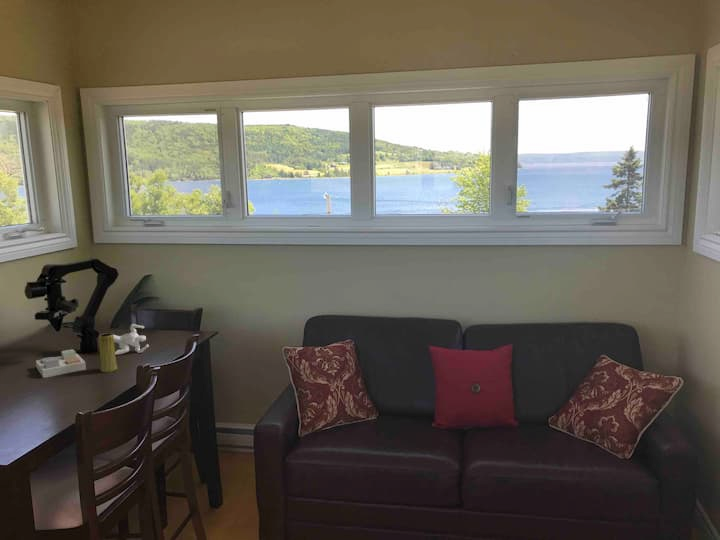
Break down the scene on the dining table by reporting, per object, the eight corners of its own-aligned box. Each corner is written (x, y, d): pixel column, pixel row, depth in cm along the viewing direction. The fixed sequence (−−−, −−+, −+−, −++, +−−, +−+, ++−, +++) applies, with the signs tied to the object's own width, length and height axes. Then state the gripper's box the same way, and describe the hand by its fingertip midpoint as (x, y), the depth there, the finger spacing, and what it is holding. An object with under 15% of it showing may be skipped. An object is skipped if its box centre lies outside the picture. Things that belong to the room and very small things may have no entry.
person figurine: (98, 334, 235) (142, 321, 242) (98, 333, 247) (141, 321, 254) (107, 363, 235) (151, 350, 243) (107, 361, 247) (149, 348, 254)
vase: (99, 373, 219) (96, 337, 216) (102, 368, 224) (98, 333, 222) (116, 371, 220) (113, 336, 218) (118, 366, 226) (115, 332, 224)
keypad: (77, 360, 235) (76, 353, 234) (86, 369, 223) (85, 362, 223) (36, 367, 226) (35, 360, 225) (43, 377, 214) (42, 370, 214)
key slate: (53, 363, 228) (53, 356, 227) (55, 366, 224) (55, 359, 224) (41, 365, 225) (40, 358, 225) (43, 368, 222) (42, 361, 221)
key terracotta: (78, 363, 227) (77, 357, 226) (80, 366, 223) (79, 359, 223) (66, 366, 224) (65, 359, 224) (68, 369, 221) (67, 362, 220)
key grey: (56, 363, 222) (56, 357, 221) (59, 366, 218) (58, 359, 218) (44, 366, 219) (43, 359, 219) (46, 369, 216) (45, 362, 215)
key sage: (73, 355, 232) (72, 349, 232) (75, 358, 229) (75, 351, 228) (61, 357, 230) (61, 351, 229) (64, 360, 226) (63, 353, 226)
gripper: (57, 299, 222) (61, 337, 225) (86, 290, 241) (89, 325, 243) (31, 299, 224) (36, 337, 226) (61, 290, 242) (65, 325, 244)
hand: (58, 331), depth 235 cm, fingers closed
